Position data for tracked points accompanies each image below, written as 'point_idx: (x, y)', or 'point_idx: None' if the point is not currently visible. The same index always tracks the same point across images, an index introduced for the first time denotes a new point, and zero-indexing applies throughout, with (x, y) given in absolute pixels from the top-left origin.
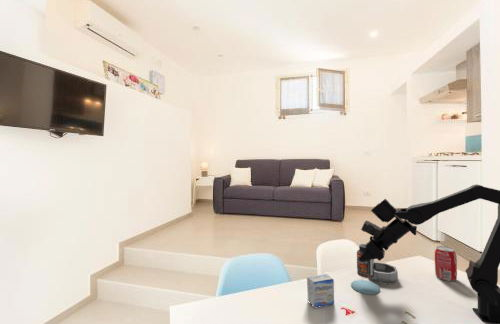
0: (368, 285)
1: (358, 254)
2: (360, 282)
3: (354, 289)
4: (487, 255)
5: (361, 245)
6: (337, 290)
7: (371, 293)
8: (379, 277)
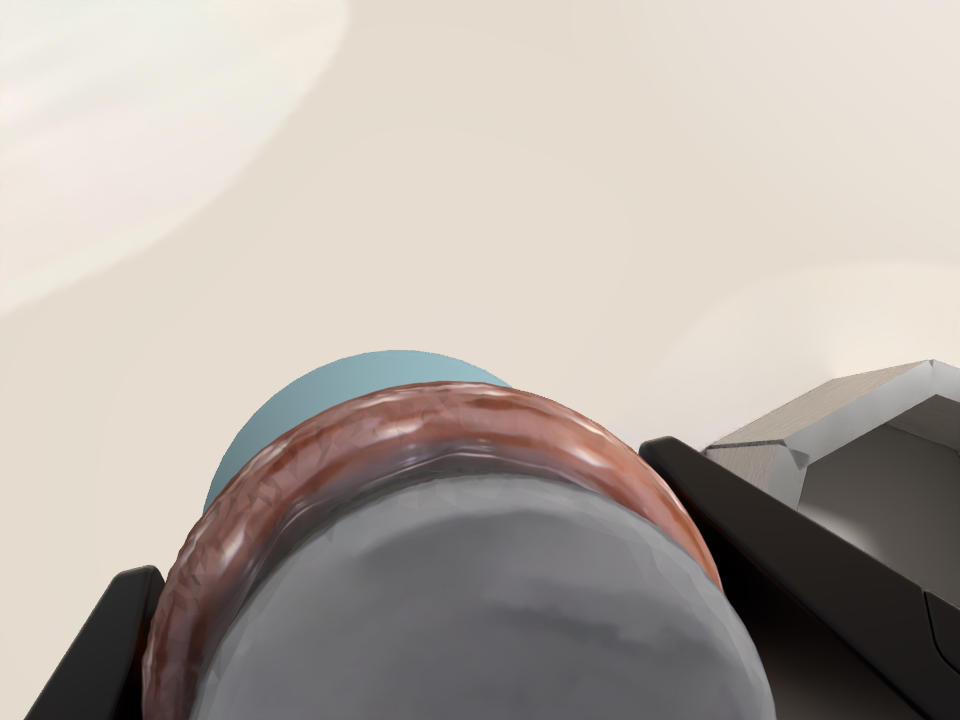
0: None
1: (199, 527)
2: None
3: (225, 459)
4: None
5: (388, 626)
6: (37, 293)
7: None
8: None
